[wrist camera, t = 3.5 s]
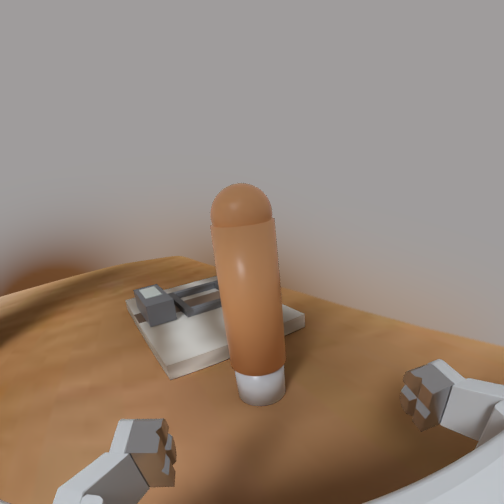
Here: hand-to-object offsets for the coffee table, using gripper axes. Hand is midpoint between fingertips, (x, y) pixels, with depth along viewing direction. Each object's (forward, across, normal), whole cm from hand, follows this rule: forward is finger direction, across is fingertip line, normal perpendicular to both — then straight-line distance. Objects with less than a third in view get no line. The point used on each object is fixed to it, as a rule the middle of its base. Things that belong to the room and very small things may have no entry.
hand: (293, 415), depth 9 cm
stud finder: (+27, +10, +7) cm, 30 cm away
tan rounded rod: (+12, 0, +8) cm, 15 cm away
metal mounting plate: (+27, +5, +8) cm, 29 cm away
